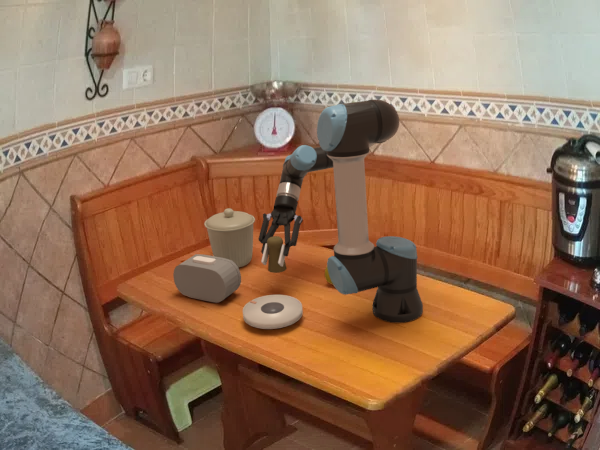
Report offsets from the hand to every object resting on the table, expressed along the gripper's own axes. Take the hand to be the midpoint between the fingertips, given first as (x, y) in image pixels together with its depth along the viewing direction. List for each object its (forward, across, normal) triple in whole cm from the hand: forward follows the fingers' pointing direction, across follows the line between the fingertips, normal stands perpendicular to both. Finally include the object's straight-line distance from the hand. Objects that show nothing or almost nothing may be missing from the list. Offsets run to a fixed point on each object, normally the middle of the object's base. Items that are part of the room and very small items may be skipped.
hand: (272, 264), depth 216 cm
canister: (-8, +25, -24) cm, 35 cm away
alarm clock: (+11, +22, -6) cm, 25 cm away
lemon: (-1, -16, -18) cm, 24 cm away
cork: (0, 0, -5) cm, 5 cm away
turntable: (+17, -5, +3) cm, 18 cm away
